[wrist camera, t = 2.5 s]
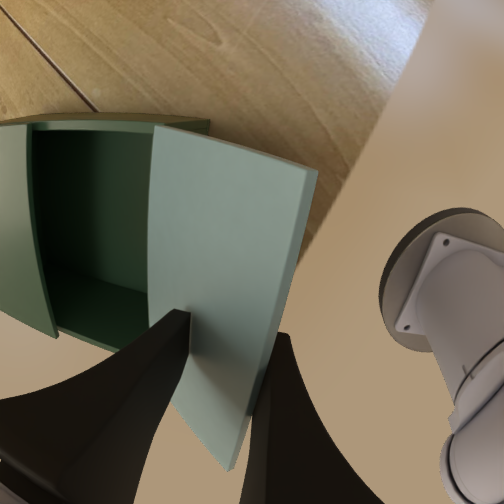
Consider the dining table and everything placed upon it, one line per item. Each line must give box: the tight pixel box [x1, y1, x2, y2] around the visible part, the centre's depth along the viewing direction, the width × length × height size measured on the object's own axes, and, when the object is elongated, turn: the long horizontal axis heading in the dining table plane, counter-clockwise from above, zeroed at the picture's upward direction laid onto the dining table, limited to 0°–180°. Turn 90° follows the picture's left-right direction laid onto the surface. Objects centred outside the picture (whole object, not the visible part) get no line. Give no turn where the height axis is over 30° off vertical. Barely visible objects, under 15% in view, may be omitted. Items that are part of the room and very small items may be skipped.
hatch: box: [148, 125, 318, 472], centre depth 10 cm, size 7×13×1 cm
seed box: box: [0, 112, 210, 353], centre depth 16 cm, size 14×13×7 cm
